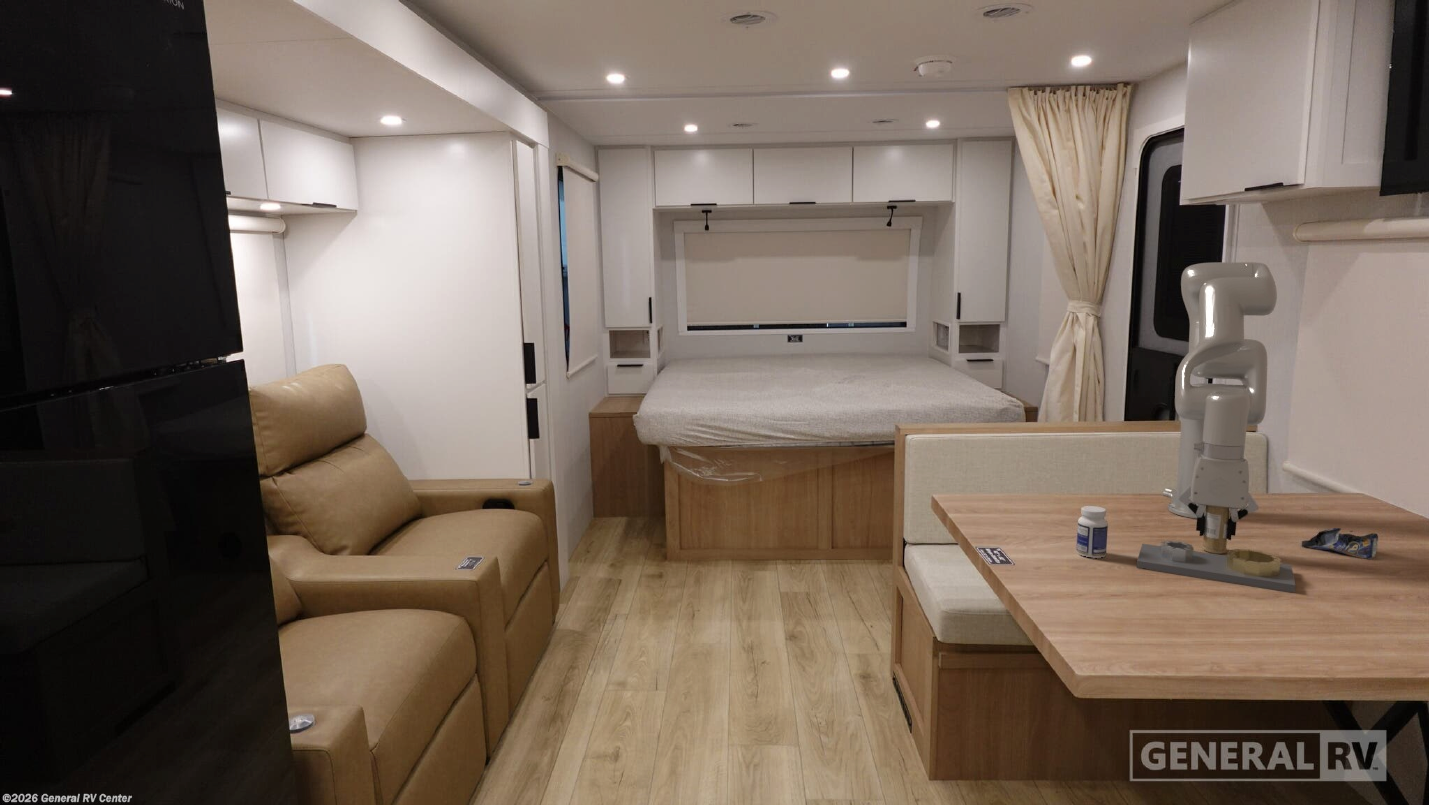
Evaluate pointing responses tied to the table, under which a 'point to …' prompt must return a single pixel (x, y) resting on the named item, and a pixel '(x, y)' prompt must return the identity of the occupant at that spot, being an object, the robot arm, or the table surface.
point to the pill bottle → (1092, 532)
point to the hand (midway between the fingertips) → (1215, 535)
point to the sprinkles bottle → (1215, 529)
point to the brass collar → (1253, 562)
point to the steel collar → (1176, 551)
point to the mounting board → (1213, 569)
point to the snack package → (1344, 543)
